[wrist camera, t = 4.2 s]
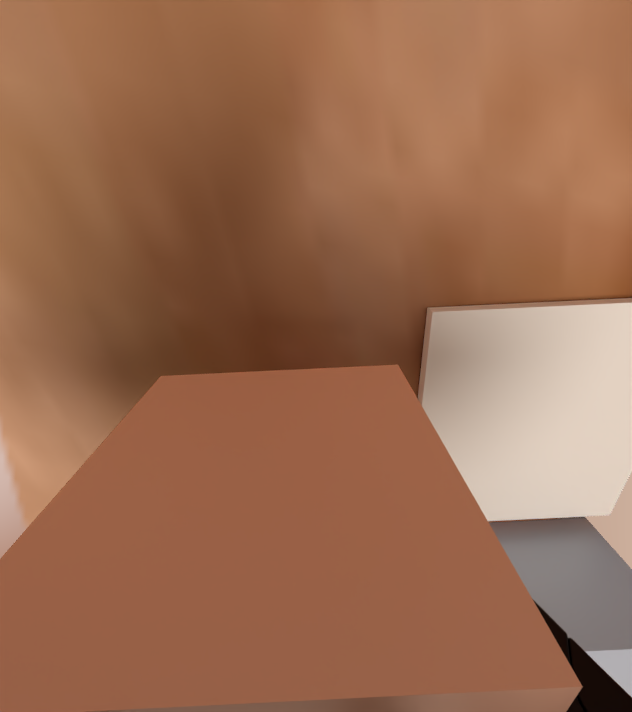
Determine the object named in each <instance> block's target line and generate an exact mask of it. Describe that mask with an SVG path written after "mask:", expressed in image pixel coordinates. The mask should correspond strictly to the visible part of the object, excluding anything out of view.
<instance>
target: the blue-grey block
mask: <svg viewBox="0 0 632 712" xmlns="http://www.w3.org/2000/svg"><path fill="white" fill-rule="evenodd" d="M489 524H490V526H491V528H492V529H493V531H494V533H495V535H496V536H497V538H498V540H499V542H500V543H501V545H502V547H503V549H504V550H505V552H506V554H507V556H508V557H509V559H510V561H511V563H512V564H513V566H514V568H515V570H516V571H517V573H518V575H519V577H520V578H521V580H522V582H523V584H524V585H525V587H526V589H527V590H528V592H529V594H530V596H531V597H532V599H533V600H534V601H535V602H536V603H537V604H538V605H539V606H540V607H541V608H542V609H543V610H544V611H545V612H546V613H547V614H548V615H549V616H550V617H551V618H552V619H553V620H554V621H555V622H556V623H557V624H558V625H559V626H560V627H561V628H562V629H563V630H564V631H565V632H566V633H567V635H568V638H572V639H573V640H574V641H575V642H576V643H577V644H578V645H579V646H580V647H581V648H582V649H583V650H584V651H585V652H586V653H587V654H588V655H589V656H590V657H591V658H592V659H593V660H594V661H595V662H596V663H597V664H598V665H599V666H600V667H601V668H602V669H603V670H604V671H605V672H606V673H607V674H608V675H609V676H610V677H611V678H612V679H613V680H615V681H616V682H617V683H618V684H619V685H620V686H621V687H622V688H623V689H624V690H625V691H626V692H627V693H628V694H629V695H630V696H631V697H632V569H631V568H630V567H629V566H628V565H627V564H626V562H624V560H623V559H622V558H621V557H620V556H619V555H618V554H617V552H616V551H615V550H614V549H613V548H612V547H611V546H610V545H609V543H607V541H606V540H605V539H604V538H603V537H602V536H601V534H600V533H599V532H598V531H597V530H596V529H595V528H594V527H593V526H592V524H591V523H590V522H589V521H588V520H587V519H586V518H585V517H568V518H559V519H552V520H532V521H512V522H492V523H489Z"/></svg>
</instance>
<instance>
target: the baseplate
mask: <svg viewBox="0 0 632 712" xmlns="http://www.w3.org/2000/svg"><path fill="white" fill-rule="evenodd" d="M418 400H419V402H420V404H421V406H422V407H423V409H424V411H425V413H426V414H427V416H428V418H429V419H430V421H431V423H432V425H433V426H434V428H435V430H436V432H437V433H438V435H439V437H440V439H441V440H442V442H443V444H444V446H445V447H446V449H447V451H448V453H449V454H450V456H451V458H452V460H453V461H454V463H455V465H456V467H457V468H458V470H459V472H460V474H461V475H462V477H463V479H464V481H465V482H466V484H467V486H468V488H469V489H470V491H471V493H472V495H473V496H474V498H475V500H476V501H477V503H478V505H479V507H480V508H481V510H482V512H483V514H484V515H485V517H486V519H487V521H502V520H522V519H543V518H563V517H584V516H604V515H610V514H611V512H612V510H613V508H614V506H615V504H616V502H617V500H618V498H619V496H620V494H621V492H622V490H623V488H624V486H625V484H626V482H627V480H628V478H629V476H630V474H631V472H632V298H619V299H598V300H577V301H555V302H534V303H513V304H492V305H471V306H450V307H429V308H427V316H426V325H425V334H424V344H423V353H422V362H421V372H420V381H419V390H418Z"/></svg>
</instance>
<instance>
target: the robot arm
mask: <svg viewBox="0 0 632 712" xmlns="http://www.w3.org/2000/svg"><path fill="white" fill-rule="evenodd" d="M533 601H534V600H533ZM534 603H535V604H536V606H537V608H538V610H539V611H540V613H541V615H542V617H543V618H544V620H545V622H546V624H547V625H548V627H549V629H550V631H551V632H552V634H553V636H554V638H555V639H556V641H557V643H558V645H559V646H560V648H561V650H562V652H563V653H564V655H565V657H566V659H567V660H568V662H569V664H570V666H571V667H572V669H573V671H574V672H575V674H576V676H577V678H578V679H579V681H580V683H581V685H582V686H583V687H582V689H581V690H580V692H579V693H578V695H577V696H576V698H575V699H574V701H573V702H572V704H571V705H570V707H569V708H568V710H567V711H566V712H632V697H631V696H630V695H629V694H628V693H627V692H626V691H625V690H624V689H623V688H622V687H621V686H620V685H619V684H618V683H617V682H616V681H615V680H613V679H612V678H611V677H610V676H609V675H608V674H607V673H606V672H605V671H604V670H603V669H602V668H601V667H600V666H599V665H598V664H597V663H596V662H595V661H594V660H593V659H592V658H591V657H590V656H589V655H588V654H587V653H586V652H585V651H584V650H583V649H582V648H581V647H580V646H579V645H578V644H577V643H576V642H575V641H574V640H573V639H572V638H568V635H567V633H566V632H565V631H564V630H563V629H562V628H561V627H560V626H559V625H558V624H557V623H556V622H555V621H554V620H553V619H552V618H551V617H550V616H549V615H548V614H547V613H546V612H545V611H544V610H543V609H542V608H541V607H540V606H539V605H538V604H537V603H536V602H535V601H534Z"/></svg>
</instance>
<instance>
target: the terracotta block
mask: <svg viewBox="0 0 632 712" xmlns="http://www.w3.org/2000/svg"><path fill="white" fill-rule="evenodd" d="M582 687H583V686H582V685H581V683H580V681H579V679H578V678H577V676H576V674H575V672H574V671H573V669H572V667H571V666H570V664H569V662H568V660H567V659H566V657H565V655H564V653H563V652H562V650H561V648H560V646H559V645H558V643H557V641H556V639H555V638H554V636H553V634H552V632H551V631H550V629H549V627H548V625H547V624H546V622H545V620H544V618H543V617H542V615H541V613H540V611H539V610H538V608H537V606H536V604H535V603H534V601H533V599H532V597H531V596H530V594H529V592H528V590H527V589H526V587H525V585H524V584H523V582H522V580H521V578H520V577H519V575H518V573H517V571H516V570H515V568H514V566H513V564H512V563H511V561H510V559H509V557H508V556H507V554H506V552H505V550H504V549H503V547H502V545H501V543H500V542H499V540H498V538H497V536H496V535H495V533H494V531H493V529H492V528H491V526H490V524H489V522H488V521H487V519H486V517H485V515H484V514H483V512H482V510H481V508H480V507H479V505H478V503H477V501H476V500H475V498H474V496H473V495H472V493H471V491H470V489H469V488H468V486H467V484H466V482H465V481H464V479H463V477H462V475H461V474H460V472H459V470H458V468H457V467H456V465H455V463H454V461H453V460H452V458H451V456H450V454H449V453H448V451H447V449H446V447H445V446H444V444H443V442H442V440H441V439H440V437H439V435H438V433H437V432H436V430H435V428H434V426H433V425H432V423H431V421H430V419H429V418H428V416H427V414H426V413H425V411H424V409H423V407H422V406H421V404H420V402H419V400H418V399H417V397H416V395H415V393H414V392H413V390H412V388H411V386H410V385H409V383H408V381H407V379H406V378H405V376H404V374H403V372H402V371H401V369H400V367H399V365H378V366H358V367H337V368H316V369H295V370H274V371H253V372H232V373H211V374H190V375H169V376H160V377H159V379H158V380H157V381H156V382H155V383H154V384H153V385H152V387H151V388H150V389H149V390H148V391H147V392H146V393H145V395H144V396H143V397H142V398H141V399H140V400H139V401H138V403H137V404H136V405H135V406H134V407H133V408H132V409H131V411H130V412H129V413H128V414H127V415H126V416H125V417H124V419H123V420H122V421H121V422H120V423H119V424H118V425H117V426H116V428H115V429H114V430H113V431H112V432H111V433H110V434H109V436H108V437H107V438H106V439H105V440H104V441H103V442H102V444H101V445H100V446H99V447H98V448H97V449H96V450H95V452H94V453H93V454H92V455H91V456H90V457H89V458H88V460H87V461H86V462H85V463H84V464H83V465H82V466H81V468H80V469H79V470H78V471H77V472H76V473H75V474H74V475H73V477H72V478H71V479H70V480H69V481H68V482H67V483H66V485H65V486H64V487H63V488H62V489H61V490H60V491H59V493H58V494H57V495H56V496H55V497H54V498H53V499H52V501H51V502H50V503H49V504H48V505H47V506H46V507H45V509H44V510H43V511H42V512H41V513H40V514H39V515H38V517H37V518H36V519H35V520H34V521H33V522H32V523H31V525H30V526H29V527H28V528H27V529H26V530H25V531H24V532H23V534H22V535H21V536H20V537H19V538H18V540H16V542H15V543H14V544H13V545H12V546H11V547H10V548H9V550H8V551H7V552H6V553H5V554H4V555H3V557H2V558H1V559H0V712H566V711H567V710H568V708H569V707H570V705H571V704H572V702H573V701H574V699H575V698H576V696H577V695H578V693H579V692H580V690H581V689H582Z"/></svg>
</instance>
